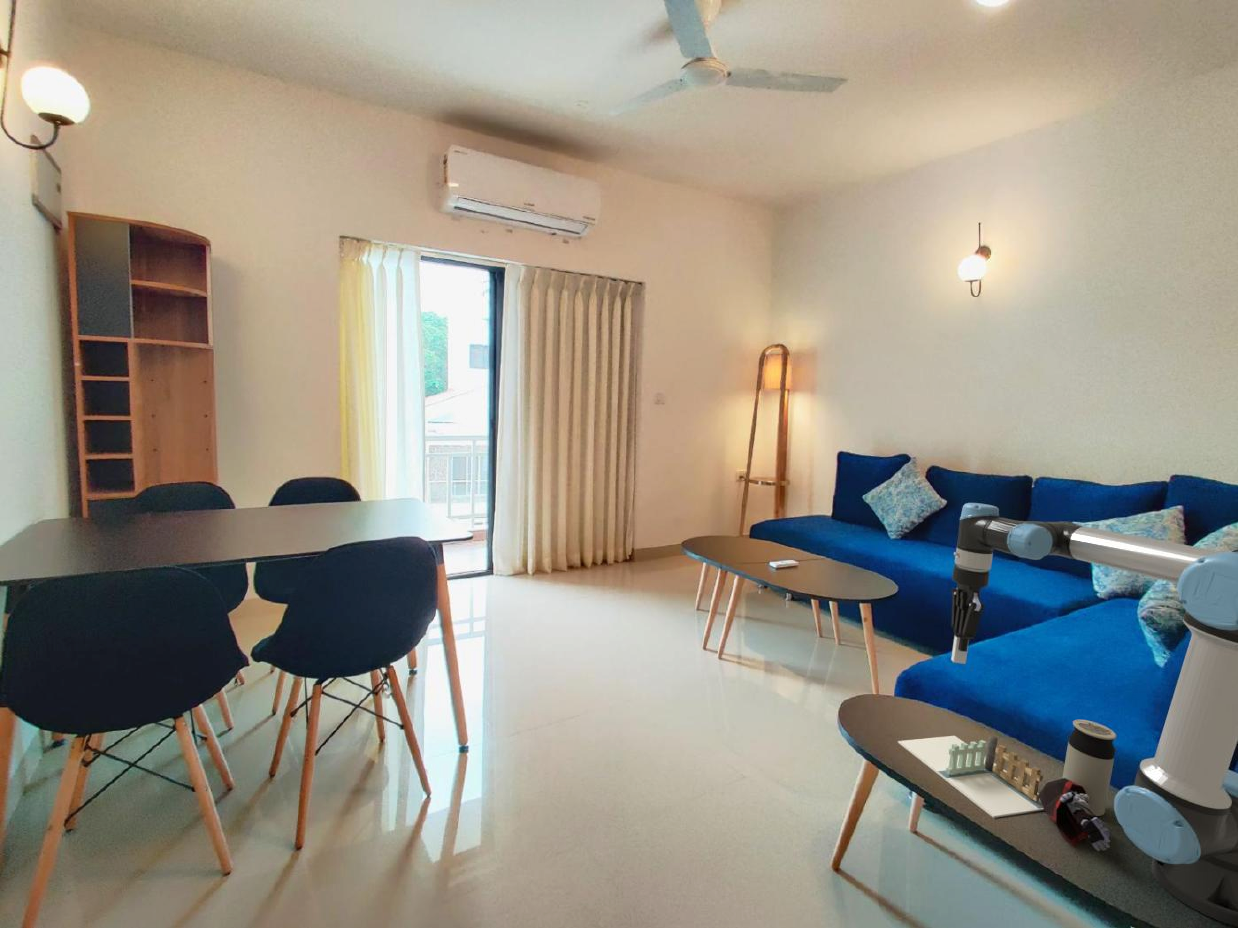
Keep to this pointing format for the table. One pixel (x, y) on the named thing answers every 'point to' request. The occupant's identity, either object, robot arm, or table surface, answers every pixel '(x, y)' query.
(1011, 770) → the fence fixed
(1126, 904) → the table surface
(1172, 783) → the robot arm
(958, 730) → the table surface
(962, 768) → the fence gate
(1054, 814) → the toy
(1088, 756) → the travel mug
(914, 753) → the card
